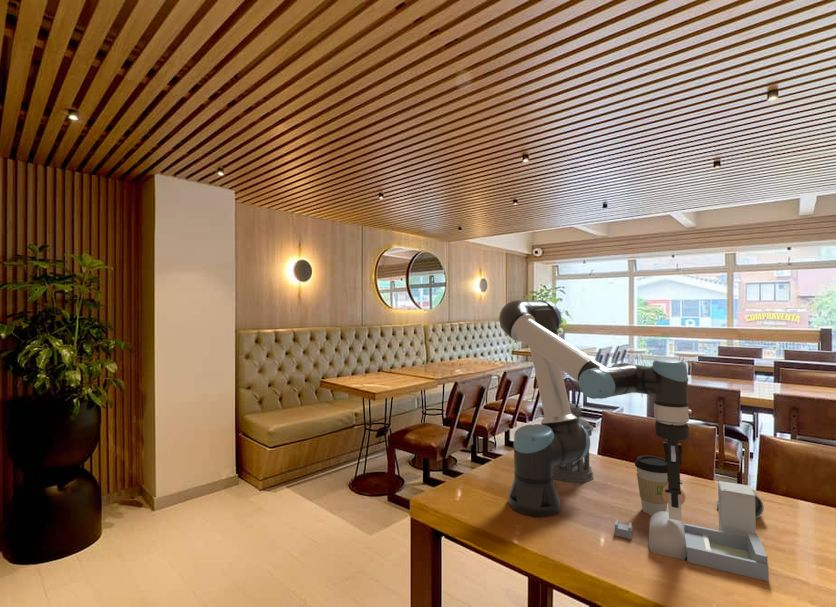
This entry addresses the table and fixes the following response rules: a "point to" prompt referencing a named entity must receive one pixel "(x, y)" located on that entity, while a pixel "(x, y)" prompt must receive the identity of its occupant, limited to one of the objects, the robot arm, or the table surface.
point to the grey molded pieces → (704, 546)
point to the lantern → (578, 469)
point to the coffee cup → (652, 482)
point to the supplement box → (736, 508)
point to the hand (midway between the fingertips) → (674, 514)
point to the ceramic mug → (758, 505)
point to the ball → (665, 494)
